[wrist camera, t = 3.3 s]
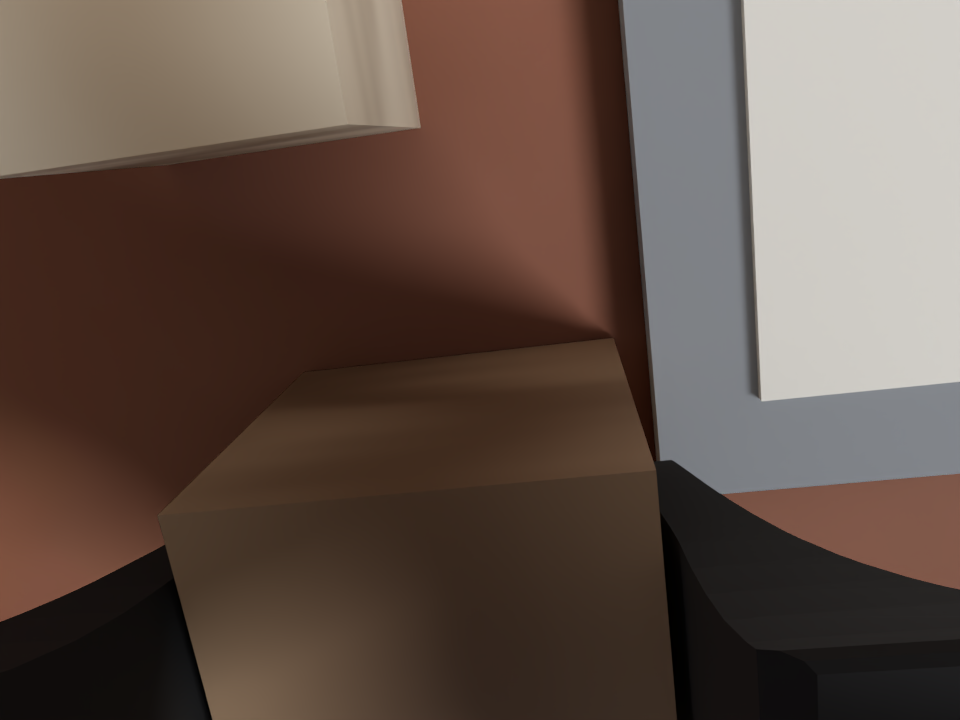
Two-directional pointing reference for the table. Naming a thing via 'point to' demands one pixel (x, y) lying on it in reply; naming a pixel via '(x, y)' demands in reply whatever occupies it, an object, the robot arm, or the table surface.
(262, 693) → the walnut cube
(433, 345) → the table surface
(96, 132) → the maple block
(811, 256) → the mat
